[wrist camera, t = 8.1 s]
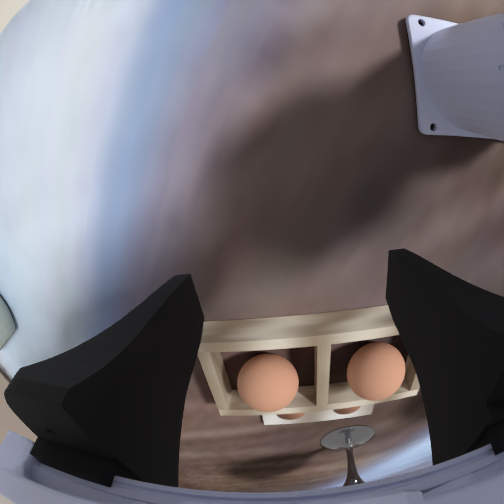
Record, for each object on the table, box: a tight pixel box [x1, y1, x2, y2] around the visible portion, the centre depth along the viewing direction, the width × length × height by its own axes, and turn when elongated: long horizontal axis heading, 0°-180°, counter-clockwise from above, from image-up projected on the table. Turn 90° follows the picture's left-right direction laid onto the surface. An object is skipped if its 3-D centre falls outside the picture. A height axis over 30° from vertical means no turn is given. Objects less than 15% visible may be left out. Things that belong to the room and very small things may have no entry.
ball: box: [347, 342, 405, 401], centre depth 23 cm, size 5×5×5 cm
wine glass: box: [321, 426, 375, 486], centre depth 26 cm, size 8×8×15 cm
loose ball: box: [237, 354, 299, 412], centre depth 24 cm, size 5×5×5 cm
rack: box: [197, 305, 420, 425], centre depth 25 cm, size 19×16×2 cm
